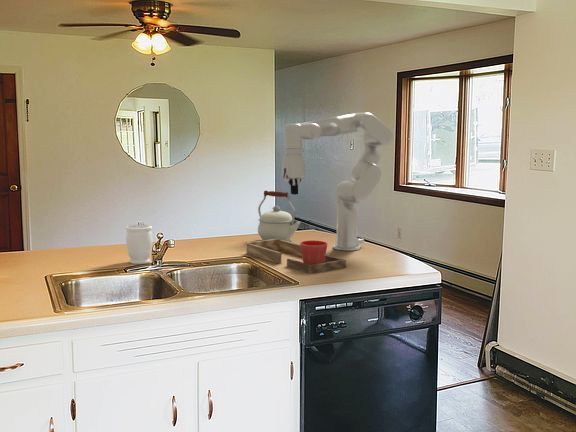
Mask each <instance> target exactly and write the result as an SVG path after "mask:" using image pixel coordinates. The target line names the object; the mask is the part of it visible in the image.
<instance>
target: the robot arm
mask: <svg viewBox="0 0 576 432" xmlns="http://www.w3.org/2000/svg"><path fill="white" fill-rule="evenodd" d="M358 132H363V135H362V137H363V143H364V151H363V152H362V155H361V156H360V158H358V160H357V162H356V163H355V164H354V166H353V167H352V169H351V171H350V178H351V181H350V180H343V181H341V182H339V183H338V184H337V186H336V188H335V199H336V214H337V215H336V244H333V245H332V248H333V249H335V250H337V251H343V252H344V251H345V252H347V251H349V252H350V251H358V250H360V249H361V246H360V245H359V244H363V243H364V242H365V239H364V238H359V237H358V214H359V209H358V205H357V204H362V203H364V202H366V201H367V200H368V198H369V197H370V195H371V194H372V192H373V191H374V190H375V189H376V187H377V186H378V184H379V183H380V180H381V177H382V170H381V168H380V167H379V163H380V161H381V157H382V150H381V148H382V147H381V146H384V147H385V146H387V145H390V144H391V143H392V141H393V140H394V139H393V137H394V133H393V130H392V129H391V128H390V127H389V126H388V125H387V124H385V123H384V122H383V121H382V120H380V119H379V118H378V117H377V116H375V115H374V114H372V113H371V112H355V113H354V112H353V113H350V114H343V115H339V116H338V115H337V116H331V117H328V118H327V117H326V118H323V119H316V120H311V121H306V122H301V123H287V124H286V125H285V126H284V155H283V158H282V165H281V177H282V178H283V181H284V182H286V183H288V185H289V186H290V195H299V185H300V183H301V181H304V180H305V176H306V163H305V156H304V154H303V153H304V151H305V150H304V149H303V141H315V140H317V139H318V138H320V137H339V136H343V135H349V134H354V133H358ZM352 180H353V181H352Z"/></svg>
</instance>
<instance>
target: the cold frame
mask: <svg viewBox="0 0 576 432" xmlns="http://www.w3.org/2000/svg"><path fill="white" fill-rule="evenodd" d="M245 251H246V254H247V255H250V256H253V257H255V258H256V257H257V258H260V259H263V260H266V261H270V262H273V263H276V264H282V252H286V253H290V254H293V255H297V256H300V257H302V252H301V246H300V243H299V244H298V243H295V242H291V241H290V242H288V241H284V240H282V239H271V240H263V241H262V240H256V241H249V242H246V250H245ZM280 251H282V252H280Z"/></svg>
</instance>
